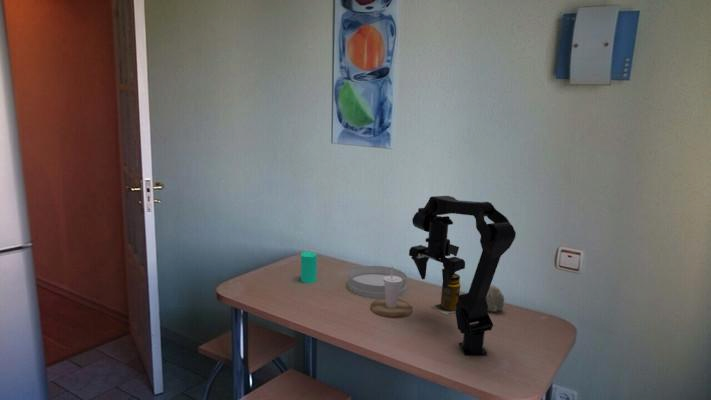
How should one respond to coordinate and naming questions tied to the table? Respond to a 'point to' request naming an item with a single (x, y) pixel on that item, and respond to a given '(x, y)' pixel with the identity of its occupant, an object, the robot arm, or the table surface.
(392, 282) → the smoothie
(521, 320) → the table surface
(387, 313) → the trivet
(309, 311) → the table surface
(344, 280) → the table surface
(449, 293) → the condiment
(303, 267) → the candle
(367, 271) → the dish
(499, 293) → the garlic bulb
